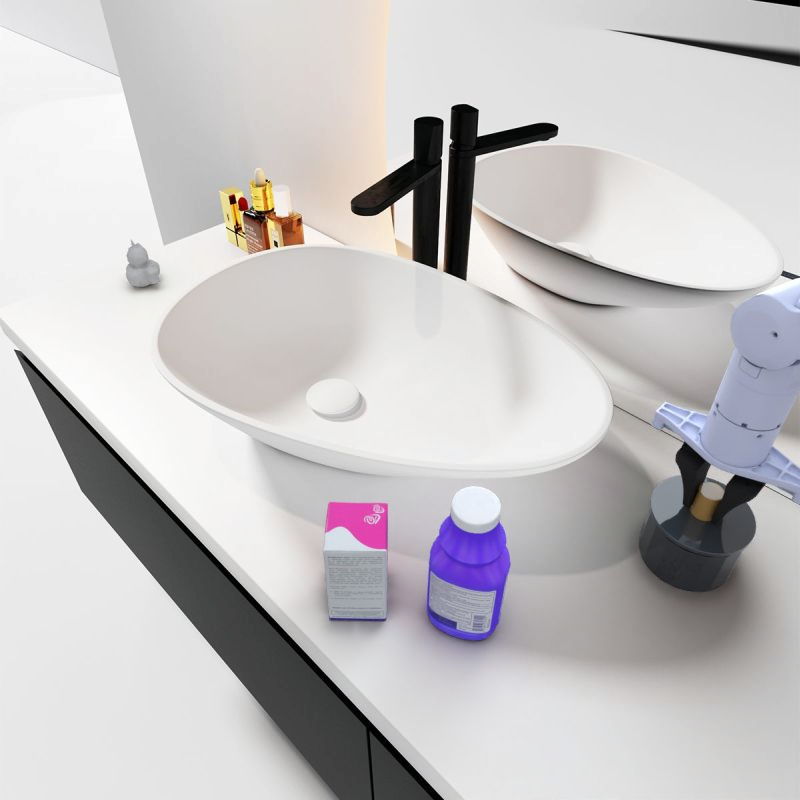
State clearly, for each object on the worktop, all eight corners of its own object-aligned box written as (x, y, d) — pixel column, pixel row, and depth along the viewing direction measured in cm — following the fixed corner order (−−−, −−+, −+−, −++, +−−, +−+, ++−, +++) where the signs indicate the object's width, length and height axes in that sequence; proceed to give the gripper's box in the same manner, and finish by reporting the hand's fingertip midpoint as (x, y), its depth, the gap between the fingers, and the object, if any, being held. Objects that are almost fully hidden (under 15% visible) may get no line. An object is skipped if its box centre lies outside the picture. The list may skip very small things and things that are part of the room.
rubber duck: (147, 271, 116) (134, 227, 111) (174, 283, 114) (162, 239, 108) (120, 285, 113) (106, 241, 108) (147, 298, 110) (134, 254, 105)
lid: (769, 517, 70) (785, 489, 67) (724, 579, 65) (739, 552, 62) (677, 466, 75) (688, 438, 72) (629, 519, 70) (638, 491, 67)
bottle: (506, 602, 70) (526, 488, 58) (492, 653, 66) (511, 542, 54) (436, 582, 71) (442, 468, 60) (419, 630, 67) (421, 518, 56)
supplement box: (388, 622, 68) (386, 552, 60) (328, 621, 68) (318, 552, 60) (390, 571, 72) (388, 500, 65) (333, 571, 72) (324, 500, 65)
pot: (747, 552, 74) (766, 517, 70) (705, 609, 69) (723, 574, 65) (666, 504, 79) (679, 468, 75) (622, 553, 74) (634, 519, 70)
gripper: (855, 425, 58) (794, 526, 67) (693, 351, 66) (658, 450, 75) (823, 470, 54) (763, 571, 64) (655, 386, 62) (623, 486, 71)
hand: (704, 508), depth 69 cm, fingers closed on lid, 2 cm apart
